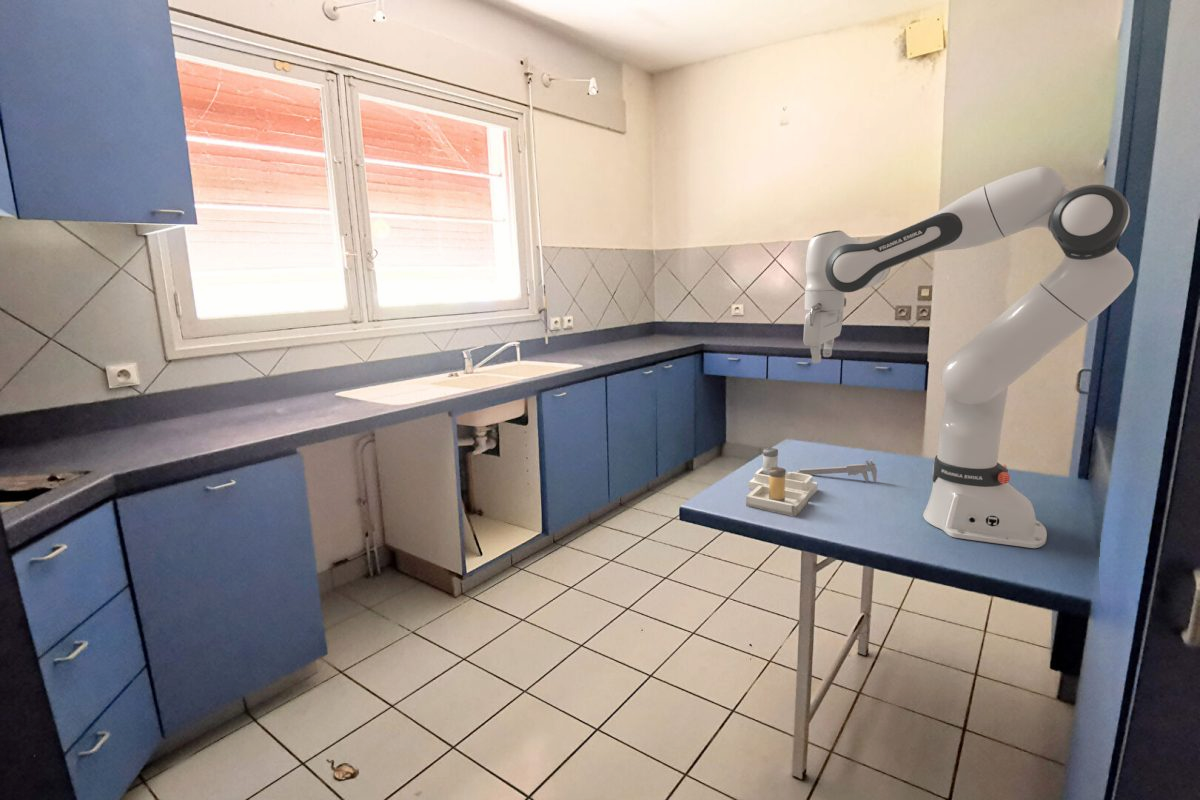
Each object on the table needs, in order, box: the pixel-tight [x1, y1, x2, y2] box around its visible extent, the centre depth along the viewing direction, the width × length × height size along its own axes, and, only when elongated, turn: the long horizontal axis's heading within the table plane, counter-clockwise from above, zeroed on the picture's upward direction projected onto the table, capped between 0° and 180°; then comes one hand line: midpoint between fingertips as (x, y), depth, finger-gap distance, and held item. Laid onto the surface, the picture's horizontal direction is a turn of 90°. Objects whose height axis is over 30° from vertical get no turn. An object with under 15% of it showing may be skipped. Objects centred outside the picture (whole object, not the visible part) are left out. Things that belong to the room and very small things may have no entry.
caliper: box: [795, 459, 878, 483], centre depth 159 cm, size 20×1×6 cm, turn 65°
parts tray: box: [745, 484, 809, 517], centre depth 144 cm, size 12×9×2 cm
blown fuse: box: [769, 466, 787, 502], centre depth 143 cm, size 4×4×8 cm
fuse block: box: [748, 447, 819, 501], centre depth 152 cm, size 15×8×10 cm, turn 55°
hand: (821, 359), depth 145 cm, fingers open, 8 cm apart
